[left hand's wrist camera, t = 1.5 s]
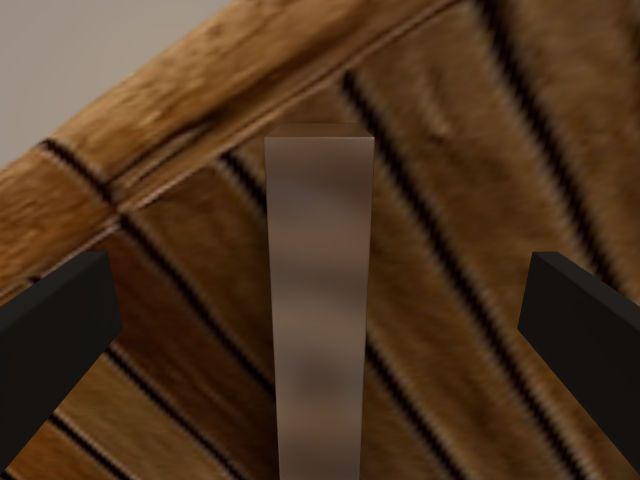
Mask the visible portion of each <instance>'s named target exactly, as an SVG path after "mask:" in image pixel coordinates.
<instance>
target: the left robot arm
mask: <svg viewBox="0 0 640 480" xmlns="http://www.w3.org/2000/svg"><path fill="white" fill-rule="evenodd" d="M122 329H123V328H122V323H121V318H120V313H119V308H118V303H117V298H116V293H115V288H114V283H113V277H112V272H111V267H110V262H109V257H108V252H82V253H80V254H79V255H77V256H76V257H74V258H73V259H71V260H70V261H68V262H67V263H65V264H64V265H62V266H61V267H59V268H58V269H56V270H55V271H53V272H52V273H50V274H49V275H47V276H46V277H44V278H43V279H41V280H40V281H38V282H37V283H35V284H34V285H32V286H31V287H29V288H28V289H26V290H25V291H23V292H22V293H20V294H19V295H17V296H16V297H14V298H13V299H11V300H10V301H8V302H7V303H5V304H4V305H2V306H1V307H0V475H1V474H2V472H3V471H4V470H5V469H6V468H7V466H8V465H9V464H10V463H11V462H12V460H13V459H14V458H15V457H16V456H17V454H18V453H19V452H20V451H21V450H22V448H23V447H24V446H25V445H26V444H27V443H28V441H29V440H30V439H31V438H32V437H33V435H34V434H35V433H36V432H37V431H38V429H39V428H40V427H41V426H42V425H43V423H44V422H45V421H46V420H47V419H48V417H49V416H50V415H51V414H52V413H53V411H54V410H55V409H56V408H57V407H58V405H59V404H60V403H61V402H62V401H63V399H64V398H65V397H66V396H67V395H68V393H69V392H70V391H71V390H72V389H73V388H74V386H75V385H76V384H77V383H78V382H79V380H80V379H81V378H82V377H83V376H84V374H85V373H86V372H87V371H88V370H89V368H90V367H91V366H92V365H93V364H94V362H95V361H96V360H97V359H98V358H99V356H100V355H101V354H102V353H103V352H104V350H105V349H106V348H107V347H108V346H109V344H110V343H111V342H112V341H113V340H114V338H115V337H116V336H117V335H118V334H119V333H120V331H121V330H122ZM517 329H518V330H519V331H520V333H521V334H522V335H523V336H524V337H525V338H526V340H527V341H528V342H529V343H530V344H531V346H532V347H533V348H534V349H535V350H536V352H537V353H538V354H539V355H540V356H541V358H542V359H543V360H544V361H545V362H546V364H547V365H548V366H549V367H550V368H551V370H552V371H553V372H554V373H555V374H556V376H557V377H558V378H559V379H560V380H561V382H562V383H563V384H564V385H565V386H566V388H567V389H568V390H569V391H570V392H571V393H572V395H573V396H574V397H575V398H576V399H577V401H578V402H579V403H580V404H581V405H582V407H583V408H584V409H585V410H586V411H587V413H588V414H589V415H590V416H591V417H592V419H593V420H594V421H595V422H596V423H597V425H598V426H599V427H600V428H601V429H602V431H603V432H604V433H605V434H606V435H607V437H608V438H609V439H610V440H611V441H612V443H613V444H614V445H615V446H616V447H617V448H618V450H619V451H620V452H621V453H622V454H623V456H624V457H625V458H626V459H627V460H628V462H629V463H630V464H631V465H632V466H633V468H634V469H635V470H636V471H637V472H638V474H639V475H640V307H639V306H638V305H636V304H635V303H633V302H632V301H630V300H629V299H627V298H626V297H624V296H623V295H621V294H620V293H618V292H617V291H615V290H614V289H612V288H611V287H609V286H608V285H606V284H605V283H603V282H602V281H600V280H599V279H597V278H596V277H594V276H593V275H591V274H590V273H588V272H587V271H585V270H584V269H582V268H581V267H579V266H578V265H576V264H575V263H573V262H572V261H570V260H569V259H567V258H566V257H564V256H563V255H561V254H560V253H558V252H532V257H531V262H530V267H529V272H528V277H527V283H526V288H525V293H524V298H523V303H522V308H521V313H520V318H519V323H518V328H517Z"/></svg>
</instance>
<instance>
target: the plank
mask: <svg viewBox="0 0 640 480" xmlns="http://www.w3.org/2000/svg"><path fill="white" fill-rule="evenodd" d="M374 146H375V138H374V137H373V136H372V135H371V134H370V133H368V132H367V131H366V130H365V129H364V128H362V127H361V126H360V125H359V124H357V123H281V124H280V125H279V126H278V127H276V128H275V129H274V130H273V131H271V132H270V133H269V134H268V135H266V136H265V137H264V157H265V178H266V199H267V220H268V241H269V262H270V283H271V304H272V325H273V346H274V367H275V388H276V409H277V430H278V451H279V472H280V480H359V471H360V449H361V427H362V406H363V384H364V363H365V341H366V319H367V298H368V276H369V254H370V233H371V211H372V189H373V168H374Z"/></svg>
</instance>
